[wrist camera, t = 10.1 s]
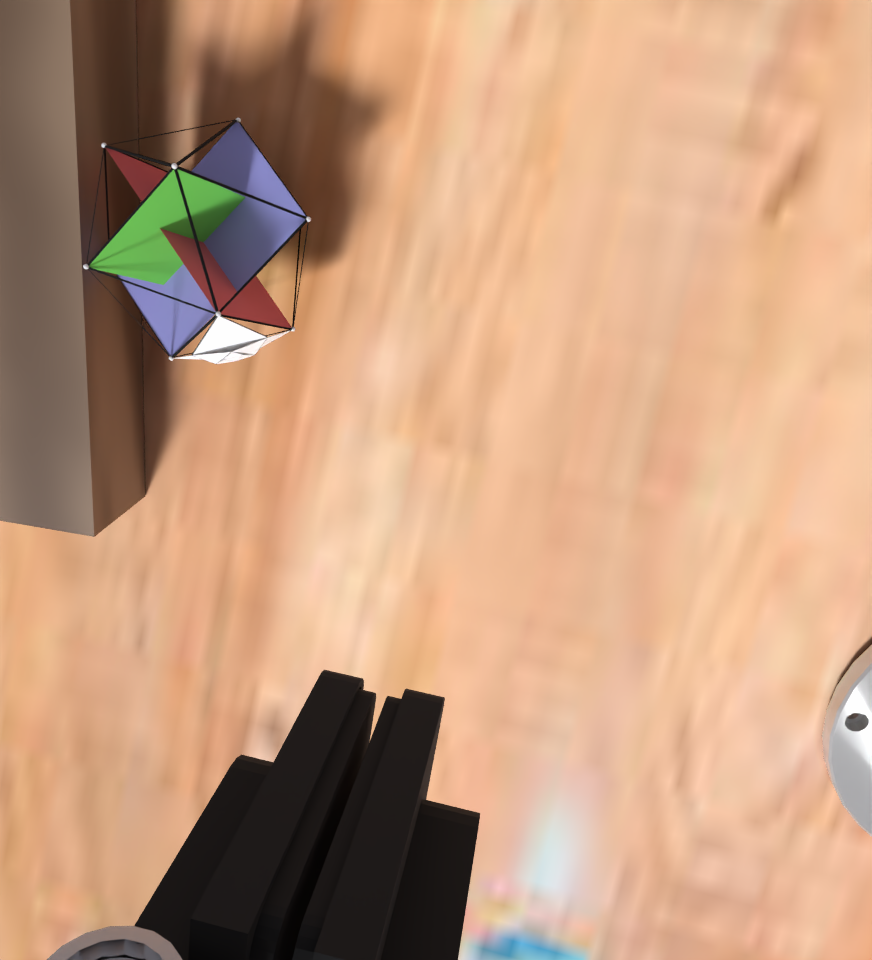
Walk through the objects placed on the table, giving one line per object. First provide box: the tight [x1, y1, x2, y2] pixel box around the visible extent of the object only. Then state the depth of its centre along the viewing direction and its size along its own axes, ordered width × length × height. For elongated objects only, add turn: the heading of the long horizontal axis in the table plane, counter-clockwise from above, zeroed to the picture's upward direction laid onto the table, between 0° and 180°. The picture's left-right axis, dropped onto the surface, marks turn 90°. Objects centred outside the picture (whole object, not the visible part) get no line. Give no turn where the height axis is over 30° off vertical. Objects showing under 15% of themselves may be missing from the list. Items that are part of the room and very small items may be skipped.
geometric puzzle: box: [83, 117, 311, 364], centre depth 26 cm, size 7×7×8 cm
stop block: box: [0, 0, 145, 537], centre depth 28 cm, size 4×20×4 cm, turn 173°
